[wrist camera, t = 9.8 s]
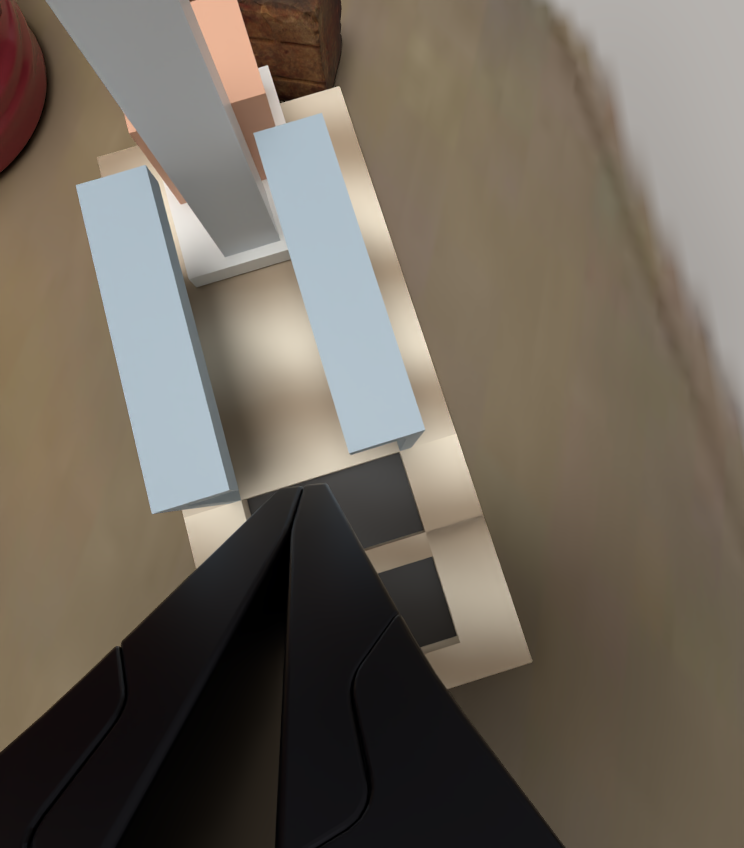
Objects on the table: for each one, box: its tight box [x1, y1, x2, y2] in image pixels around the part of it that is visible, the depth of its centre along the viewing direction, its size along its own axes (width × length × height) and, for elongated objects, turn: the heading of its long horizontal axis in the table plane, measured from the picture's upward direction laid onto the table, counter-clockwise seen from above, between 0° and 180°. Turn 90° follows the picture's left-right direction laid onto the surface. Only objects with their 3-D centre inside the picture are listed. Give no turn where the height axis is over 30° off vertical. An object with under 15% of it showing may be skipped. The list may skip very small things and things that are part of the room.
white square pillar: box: [46, 0, 291, 287], centre depth 14 cm, size 9×6×12 cm, turn 17°
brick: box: [189, 0, 342, 101], centre depth 20 cm, size 11×4×5 cm, turn 79°
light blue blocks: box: [76, 113, 425, 514], centre depth 16 cm, size 10×8×6 cm
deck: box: [97, 86, 533, 689], centre depth 20 cm, size 27×12×1 cm, turn 17°
